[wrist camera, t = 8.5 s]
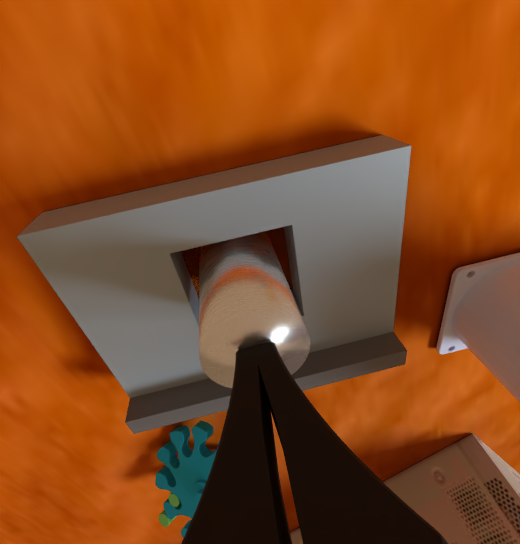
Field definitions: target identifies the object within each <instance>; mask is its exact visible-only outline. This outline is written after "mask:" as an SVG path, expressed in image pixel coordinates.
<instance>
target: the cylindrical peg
mask: <svg viewBox="0 0 520 544" xmlns="http://www.w3.org/2000/svg"><path fill="white" fill-rule="evenodd" d="M268 342H273V343H275V345H276V348H277V350H278V352H279V354H280V356H281V358H282V360H283V362H284V364H285V365H286V367H287V369H288V371H289V372H290V374H291V375H292V374H294V373H295V372H296V371H297V370H298V369H299V368H300V367H301V366H302V365H303V363H304V362H305V360H306V358H307V356H308V354H309V351H310V337H309V334H308V331H307V329H306V326H305V324H304V322H303V319H302V317H301V314H300V312H299V309H298V307H297V304H296V302H295V300H294V297H293V295H292V292H291V290H290V287H289V285H288V282H287V280H286V278H285V275H284V273H283V270H282V268H281V265H280V263H279V260H278V258H277V256H276V253H275V251H274V248H273V246H272V243H271V241H270V239H269V237H268V236H267V234H266V233H265V232H264V231H263V232H259V233H255V234H251V235H247V236H242V237H238V238H234V239H230V240H225V241H221V242H217V243H213V244H208V245H204V246H201V247H200V251H199V351H200V364H201V367H202V369H203V371H204V372H205V374H206V375H207V376H208V377H209V378H210V379H211V380H213V381H214V382H216V383H218V384H220V385H222V386H225V387H228V388H232V386H233V380H234V372H235V361H236V352H237V351H238V350H240V349H244V348H248V347H252V346H256V345H260V344H264V343H268Z"/></svg>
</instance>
